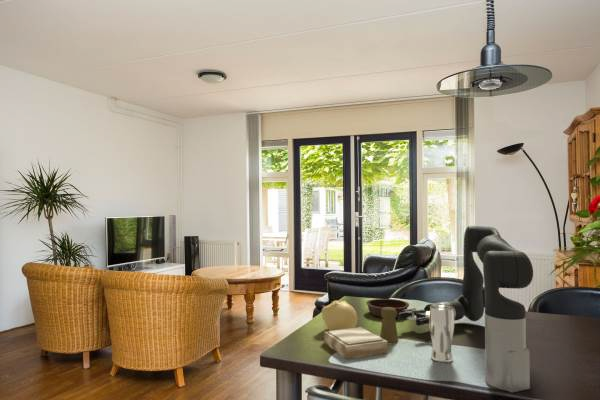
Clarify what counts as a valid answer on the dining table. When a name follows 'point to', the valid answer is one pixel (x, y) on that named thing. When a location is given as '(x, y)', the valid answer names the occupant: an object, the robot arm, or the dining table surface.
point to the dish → (378, 304)
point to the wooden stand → (355, 342)
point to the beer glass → (441, 332)
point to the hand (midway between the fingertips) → (407, 319)
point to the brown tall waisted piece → (389, 325)
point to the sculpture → (339, 316)
